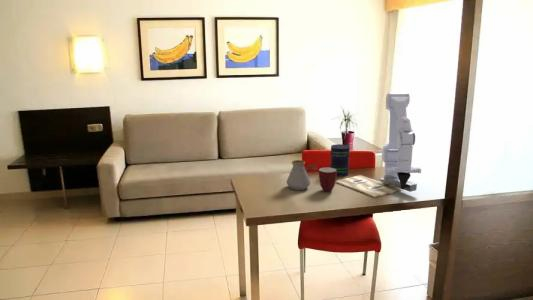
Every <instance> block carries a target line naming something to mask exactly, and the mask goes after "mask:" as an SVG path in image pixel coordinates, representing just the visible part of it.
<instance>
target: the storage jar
mask: <svg viewBox="0 0 533 300" xmlns="http://www.w3.org/2000/svg"><path fill="white" fill-rule="evenodd" d="M350 155H351V154H350V145H347V144H342V143H341V144H331V145H330V164H329V165H330V167H329V168H334V169H336V170H337V174H336V177H346V176H349V173H350V171H349V170H350V164H349V163H350V162H349V159H350Z"/></svg>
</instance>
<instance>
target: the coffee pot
mask: <svg viewBox="0 0 533 300" xmlns="http://www.w3.org/2000/svg"><path fill="white" fill-rule="evenodd" d="M291 164H292V167H291V171H290V173H289V175H288V177H287V179H286V184H287V186H288V187H289V188H290V189H291V190H294V191H304V190H306V189H307V188H308V187H309V186H310V185H311V180H310V177H309V175H308V173H307V170H310V169H313V170H314V171H315V170H317V169H318V166H317V165H316V164H314V165H313V164H311V165H308V166H306V167H305V164H306V161H305V160H300V159H298V160H297V159H296V160H292V161H291ZM318 170H319V169H318Z"/></svg>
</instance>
